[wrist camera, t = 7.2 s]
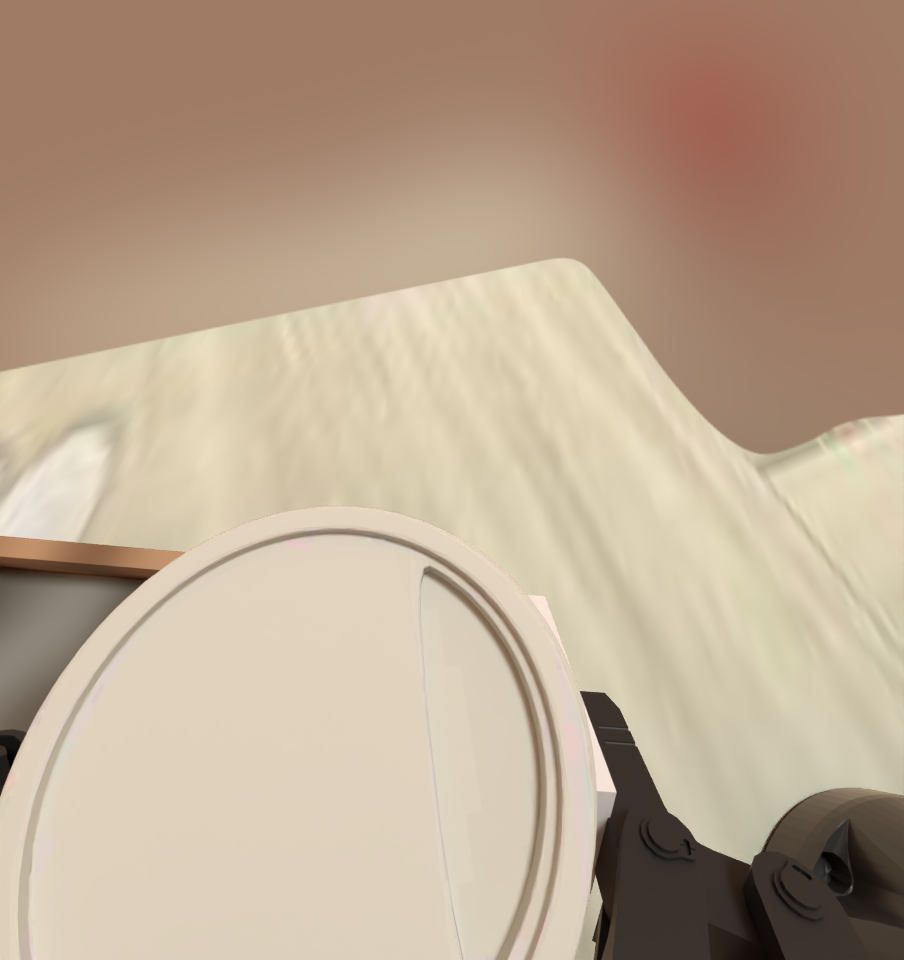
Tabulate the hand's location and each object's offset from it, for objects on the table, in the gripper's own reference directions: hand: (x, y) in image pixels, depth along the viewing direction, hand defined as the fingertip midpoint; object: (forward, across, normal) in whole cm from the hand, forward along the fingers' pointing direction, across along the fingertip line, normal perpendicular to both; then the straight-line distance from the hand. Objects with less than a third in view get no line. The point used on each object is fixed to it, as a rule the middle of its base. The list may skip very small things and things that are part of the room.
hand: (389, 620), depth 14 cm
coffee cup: (+1, 0, -5) cm, 5 cm away
